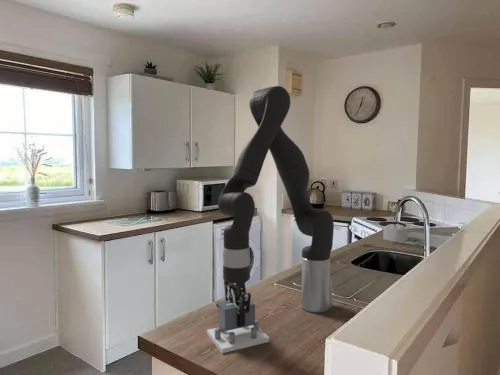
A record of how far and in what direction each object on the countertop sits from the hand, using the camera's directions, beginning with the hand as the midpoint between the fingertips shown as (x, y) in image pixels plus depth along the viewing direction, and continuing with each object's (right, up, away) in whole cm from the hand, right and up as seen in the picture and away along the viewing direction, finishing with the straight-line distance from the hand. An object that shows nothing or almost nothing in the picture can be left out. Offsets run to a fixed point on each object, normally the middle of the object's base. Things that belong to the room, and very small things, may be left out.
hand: (236, 321), depth 109 cm
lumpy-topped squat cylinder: (+90, +7, +120) cm, 150 cm away
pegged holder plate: (0, -5, 0) cm, 5 cm away
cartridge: (0, -1, 0) cm, 1 cm away
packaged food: (-1, -4, +17) cm, 17 cm away
